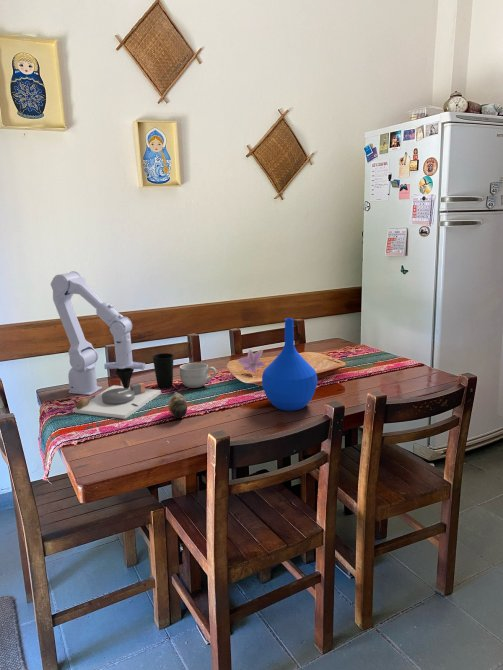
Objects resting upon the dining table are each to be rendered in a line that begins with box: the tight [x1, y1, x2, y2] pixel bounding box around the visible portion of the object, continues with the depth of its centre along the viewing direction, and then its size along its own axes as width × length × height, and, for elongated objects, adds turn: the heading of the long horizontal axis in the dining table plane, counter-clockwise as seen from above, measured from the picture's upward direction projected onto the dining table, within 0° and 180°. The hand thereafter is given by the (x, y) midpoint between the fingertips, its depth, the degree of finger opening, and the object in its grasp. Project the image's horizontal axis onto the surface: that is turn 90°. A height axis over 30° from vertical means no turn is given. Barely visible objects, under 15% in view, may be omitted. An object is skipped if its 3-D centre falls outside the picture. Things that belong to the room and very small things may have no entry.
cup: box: [152, 352, 175, 390], centre depth 194 cm, size 8×8×12 cm
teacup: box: [179, 362, 217, 389], centre depth 195 cm, size 14×11×8 cm
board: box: [72, 385, 162, 420], centre depth 181 cm, size 20×24×1 cm
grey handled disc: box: [102, 381, 146, 404], centre depth 181 cm, size 16×11×3 cm
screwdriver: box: [74, 394, 96, 409], centre depth 176 cm, size 9×2×2 cm, turn 161°
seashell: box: [167, 391, 188, 419], centre depth 166 cm, size 10×6×8 cm, turn 24°
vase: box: [261, 317, 318, 412], centre depth 171 cm, size 18×18×30 cm
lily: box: [237, 349, 266, 373], centre depth 208 cm, size 12×12×10 cm
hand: (126, 387), depth 188 cm, fingers closed
